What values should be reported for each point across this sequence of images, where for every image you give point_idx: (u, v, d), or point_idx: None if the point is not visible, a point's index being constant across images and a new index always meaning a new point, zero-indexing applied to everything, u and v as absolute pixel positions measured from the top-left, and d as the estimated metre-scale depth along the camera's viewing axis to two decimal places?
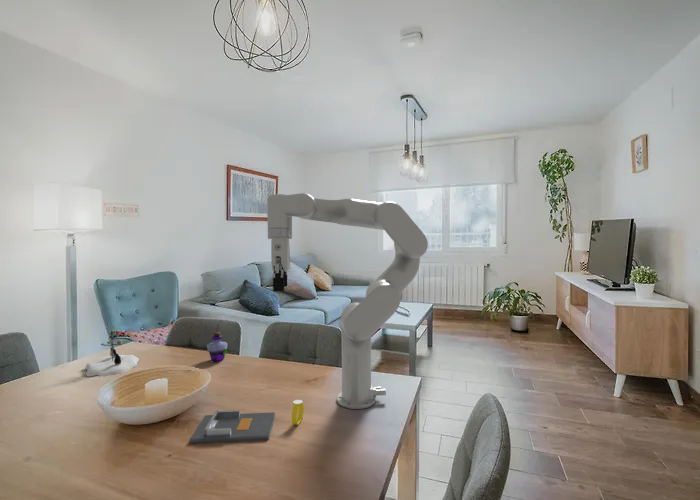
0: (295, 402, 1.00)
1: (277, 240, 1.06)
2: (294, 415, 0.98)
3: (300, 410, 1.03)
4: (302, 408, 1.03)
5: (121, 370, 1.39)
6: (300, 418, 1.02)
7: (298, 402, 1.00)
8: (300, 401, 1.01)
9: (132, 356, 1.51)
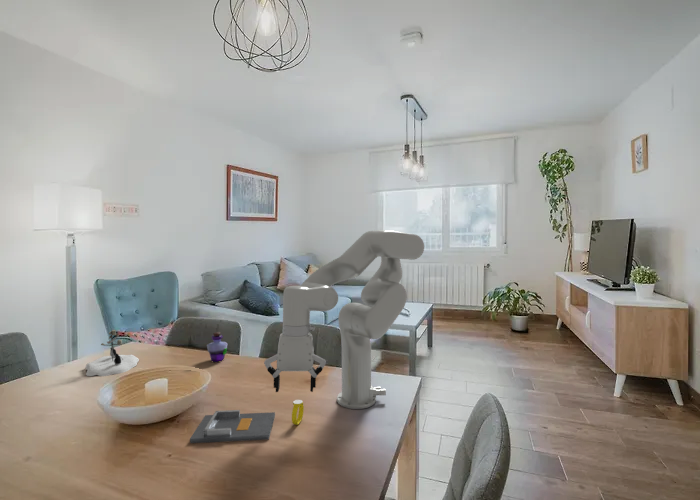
0: (295, 402, 1.00)
1: (311, 336, 1.00)
2: (294, 415, 0.98)
3: (300, 410, 1.03)
4: (302, 408, 1.03)
5: (121, 370, 1.39)
6: (300, 418, 1.02)
7: (298, 402, 1.00)
8: (300, 401, 1.01)
9: (132, 356, 1.51)
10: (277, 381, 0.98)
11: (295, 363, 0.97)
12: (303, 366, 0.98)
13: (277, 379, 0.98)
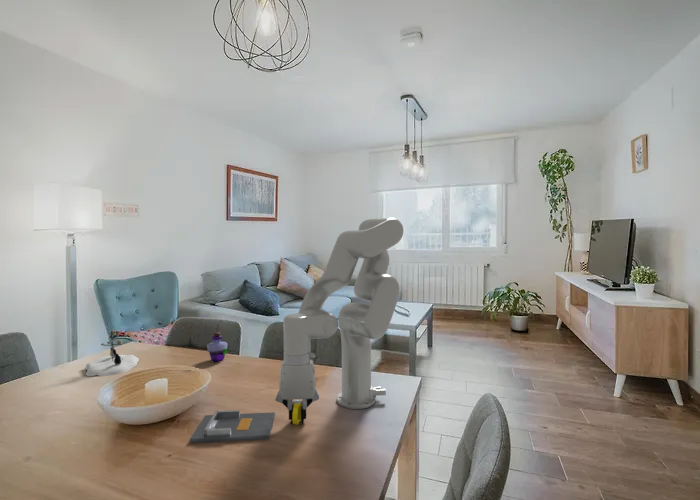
0: (295, 402, 1.00)
1: (313, 364, 1.00)
2: (295, 415, 0.98)
3: (299, 410, 1.03)
4: None
5: (121, 370, 1.39)
6: (300, 418, 1.02)
7: (298, 402, 1.00)
8: (300, 401, 1.01)
9: (132, 356, 1.50)
10: (292, 413, 0.99)
11: (297, 392, 0.98)
12: (306, 394, 0.98)
13: (292, 411, 0.99)
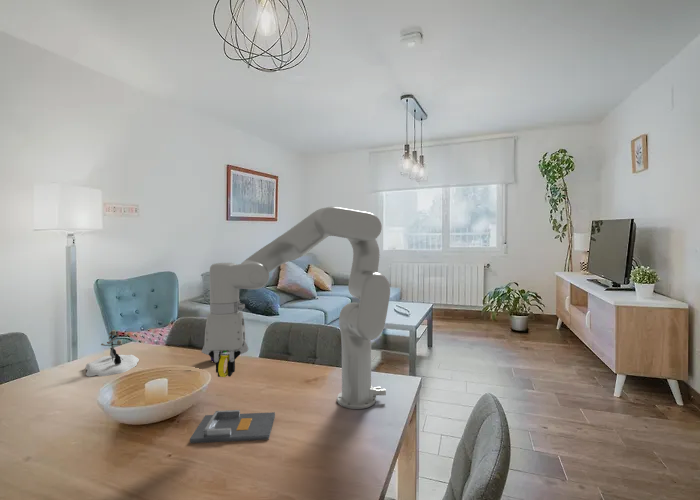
0: (222, 354, 0.96)
1: (241, 314, 0.96)
2: (221, 367, 0.94)
3: None
4: None
5: (121, 370, 1.39)
6: None
7: (226, 354, 0.96)
8: (228, 353, 0.97)
9: (132, 356, 1.50)
10: None
11: (223, 342, 0.94)
12: (232, 345, 0.94)
13: None
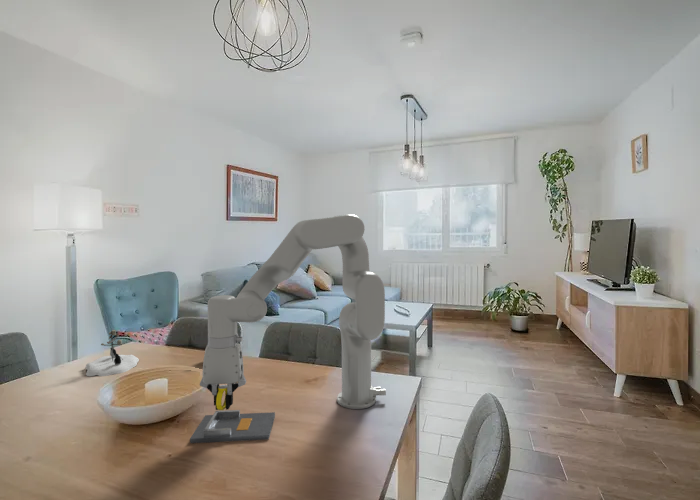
0: (220, 387, 0.96)
1: (239, 347, 0.96)
2: (219, 400, 0.94)
3: None
4: None
5: (121, 370, 1.39)
6: None
7: (223, 387, 0.96)
8: (226, 386, 0.97)
9: (132, 356, 1.50)
10: None
11: (221, 376, 0.94)
12: (230, 378, 0.95)
13: None
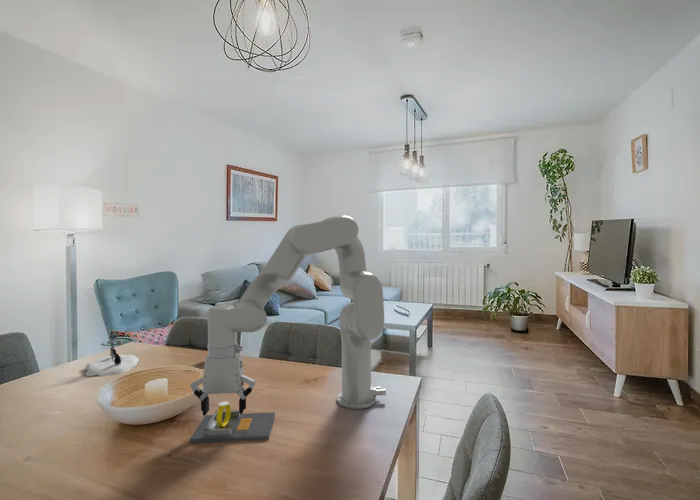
0: (221, 404, 0.97)
1: (239, 357, 0.97)
2: (219, 418, 0.94)
3: (227, 412, 1.00)
4: (229, 410, 1.00)
5: (121, 370, 1.39)
6: (227, 420, 0.99)
7: (224, 404, 0.97)
8: (226, 403, 0.97)
9: (132, 356, 1.50)
10: (204, 404, 0.95)
11: (221, 386, 0.94)
12: (230, 388, 0.95)
13: (204, 402, 0.95)
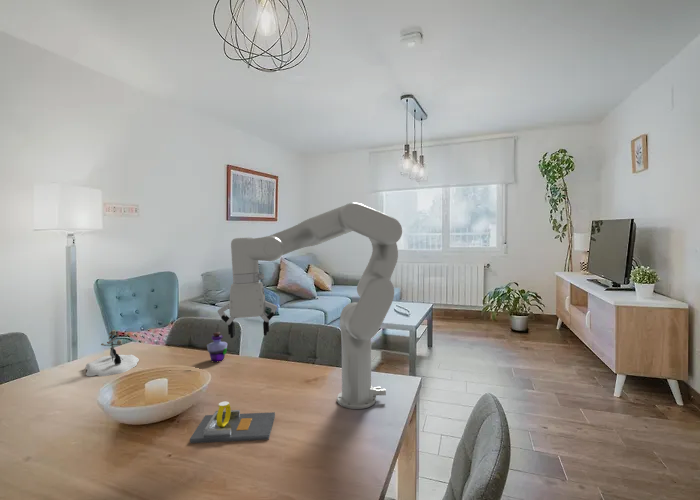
0: (221, 404, 0.97)
1: (261, 284, 1.05)
2: (219, 418, 0.94)
3: (227, 412, 1.00)
4: (229, 410, 1.00)
5: (121, 370, 1.39)
6: (227, 420, 0.99)
7: (224, 404, 0.97)
8: (226, 403, 0.97)
9: (132, 356, 1.50)
10: (231, 327, 1.04)
11: (246, 309, 1.03)
12: (255, 311, 1.04)
13: (231, 326, 1.04)
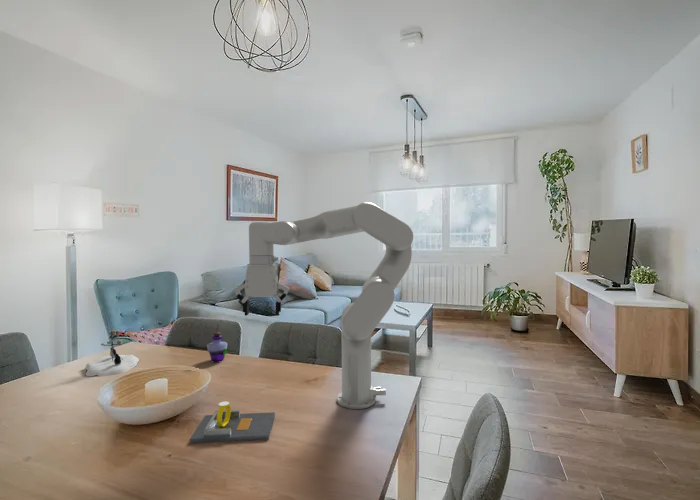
0: (221, 404, 0.97)
1: (275, 266, 1.12)
2: (219, 418, 0.94)
3: (227, 412, 1.00)
4: (229, 410, 1.00)
5: (121, 370, 1.39)
6: (227, 420, 0.99)
7: (224, 404, 0.97)
8: (226, 403, 0.97)
9: (132, 356, 1.50)
10: (246, 306, 1.11)
11: (260, 289, 1.10)
12: (269, 292, 1.10)
13: (246, 304, 1.11)
